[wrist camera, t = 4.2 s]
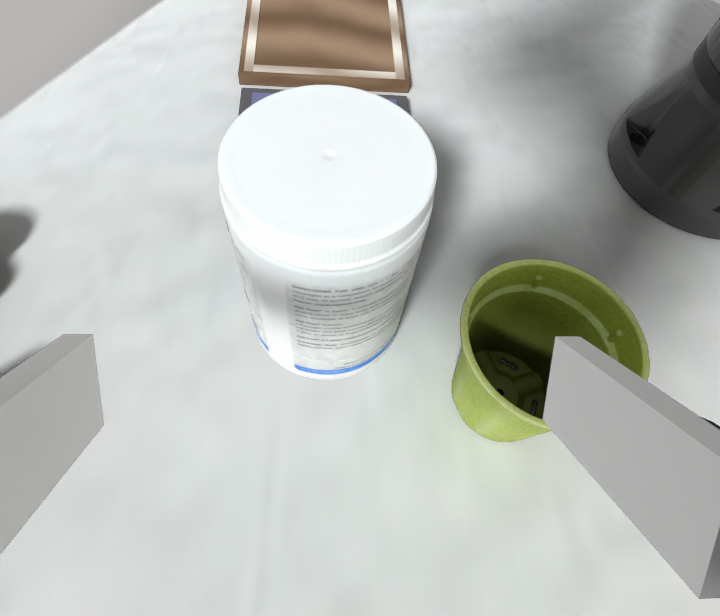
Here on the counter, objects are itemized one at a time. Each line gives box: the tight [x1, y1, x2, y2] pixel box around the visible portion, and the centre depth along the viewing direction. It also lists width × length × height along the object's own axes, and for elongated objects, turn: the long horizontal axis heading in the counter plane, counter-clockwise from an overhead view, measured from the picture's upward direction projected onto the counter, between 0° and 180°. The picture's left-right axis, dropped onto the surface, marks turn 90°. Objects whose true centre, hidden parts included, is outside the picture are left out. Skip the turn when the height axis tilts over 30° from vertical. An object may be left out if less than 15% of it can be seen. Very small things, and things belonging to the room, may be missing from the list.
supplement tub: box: [218, 85, 437, 379], centre depth 27 cm, size 10×10×15 cm
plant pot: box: [452, 259, 650, 442], centre depth 28 cm, size 9×9×9 cm
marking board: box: [238, 0, 410, 93], centre depth 47 cm, size 15×15×1 cm
